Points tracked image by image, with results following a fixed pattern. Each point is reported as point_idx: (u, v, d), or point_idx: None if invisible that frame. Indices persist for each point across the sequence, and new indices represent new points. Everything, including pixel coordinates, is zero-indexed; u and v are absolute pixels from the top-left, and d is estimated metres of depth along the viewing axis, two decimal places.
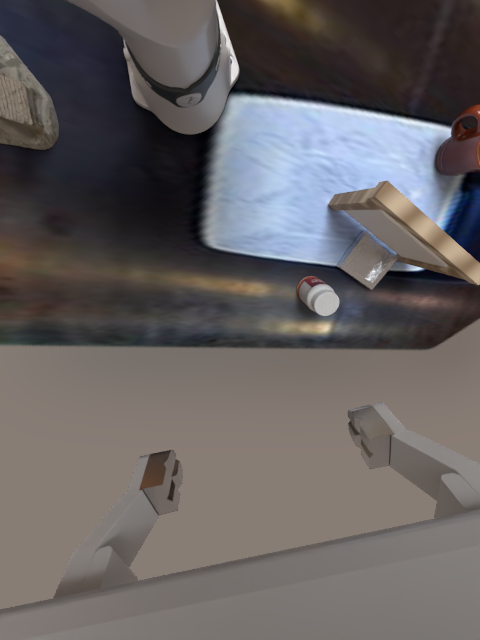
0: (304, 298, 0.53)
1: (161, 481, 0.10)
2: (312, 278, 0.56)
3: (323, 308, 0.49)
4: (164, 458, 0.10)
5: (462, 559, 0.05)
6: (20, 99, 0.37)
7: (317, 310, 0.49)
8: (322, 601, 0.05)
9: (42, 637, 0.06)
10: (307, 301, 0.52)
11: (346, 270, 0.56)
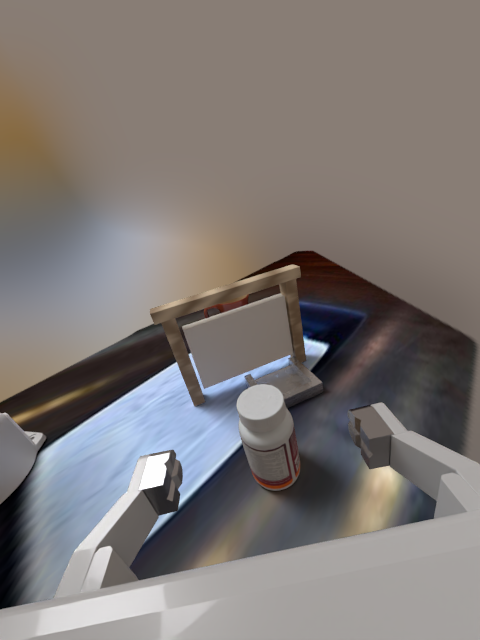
0: (255, 454, 0.26)
1: (161, 481, 0.10)
2: None
3: (263, 407, 0.25)
4: (164, 458, 0.10)
5: (462, 559, 0.05)
6: None
7: (260, 416, 0.24)
8: (322, 601, 0.05)
9: (42, 637, 0.06)
10: (253, 443, 0.25)
11: None
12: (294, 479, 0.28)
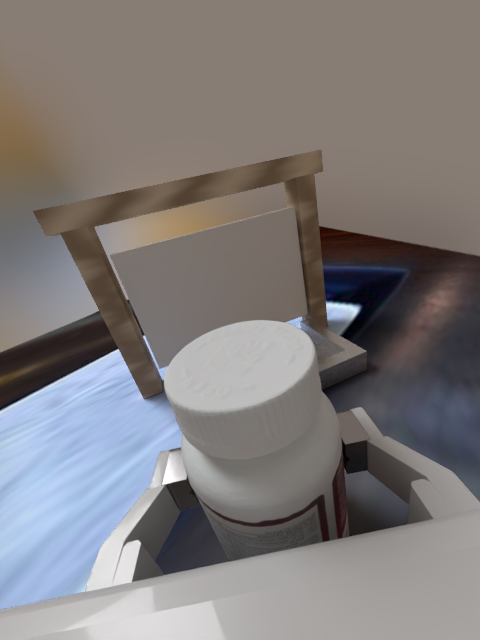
0: (224, 529, 0.08)
1: (184, 476, 0.09)
2: None
3: (248, 371, 0.07)
4: None
5: (462, 559, 0.05)
6: None
7: (233, 402, 0.06)
8: (322, 601, 0.05)
9: (42, 637, 0.06)
10: (214, 496, 0.07)
11: None
12: None
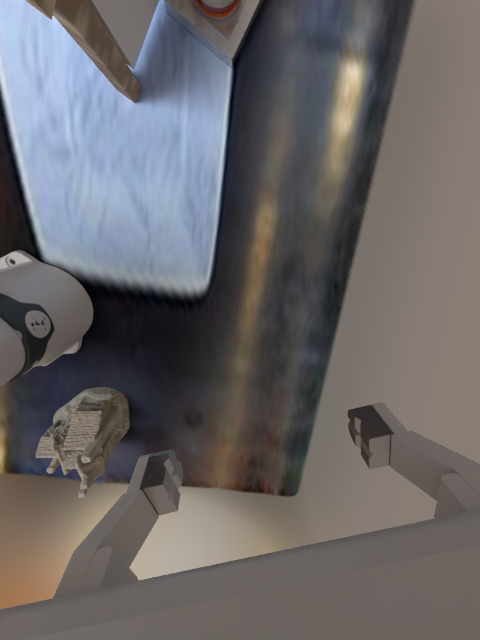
0: None
1: (161, 482, 0.09)
2: None
3: None
4: (164, 458, 0.10)
5: (462, 559, 0.05)
6: (84, 416, 0.45)
7: None
8: (322, 601, 0.05)
9: (42, 637, 0.06)
10: None
11: (238, 40, 0.29)
12: None
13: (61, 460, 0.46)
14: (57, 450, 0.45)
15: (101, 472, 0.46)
